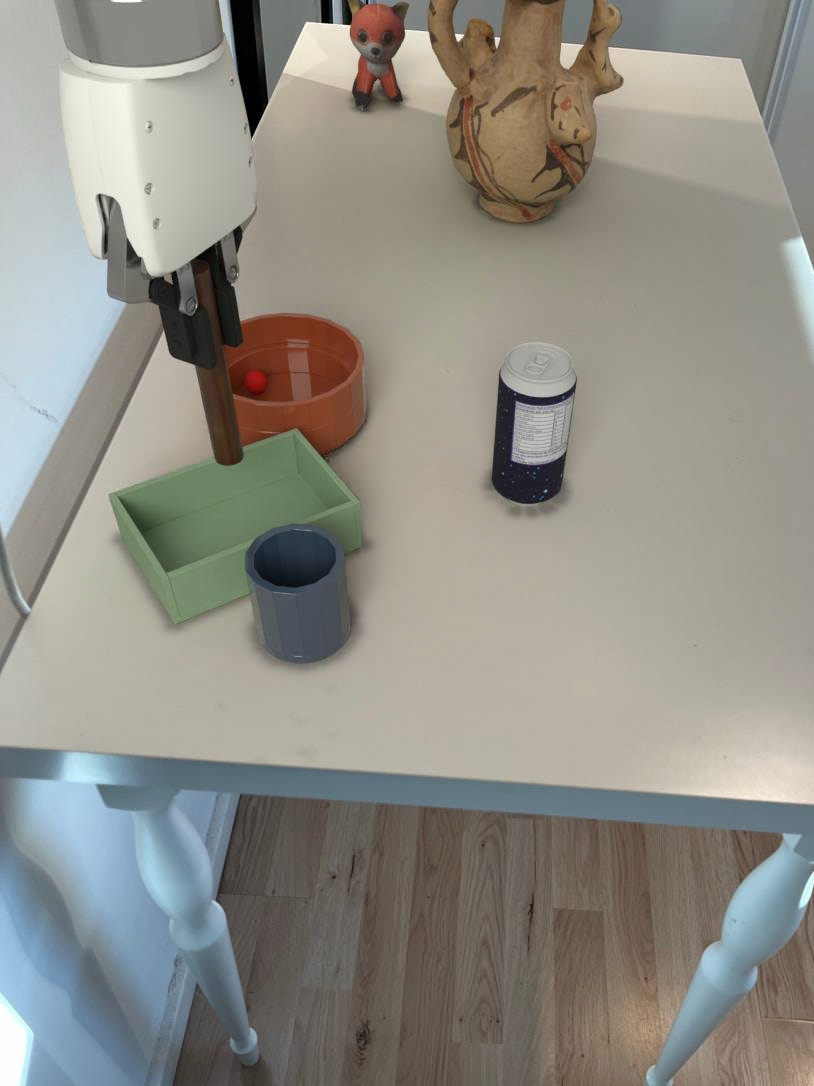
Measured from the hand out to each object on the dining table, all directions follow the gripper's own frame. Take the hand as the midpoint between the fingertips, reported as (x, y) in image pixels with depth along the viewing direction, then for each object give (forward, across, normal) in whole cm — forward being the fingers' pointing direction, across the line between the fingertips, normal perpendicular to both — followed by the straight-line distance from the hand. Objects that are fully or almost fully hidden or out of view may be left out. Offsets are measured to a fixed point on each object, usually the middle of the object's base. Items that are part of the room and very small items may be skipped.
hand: (206, 348), depth 61 cm
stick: (+9, 0, 0) cm, 9 cm away
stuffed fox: (+17, -78, -33) cm, 86 cm away
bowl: (+17, -14, -6) cm, 23 cm away
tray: (+17, 0, 0) cm, 17 cm away
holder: (+17, +5, +9) cm, 19 cm away
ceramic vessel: (+17, -60, -4) cm, 62 cm away
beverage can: (+17, -16, +16) cm, 28 cm away
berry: (+15, -15, -9) cm, 23 cm away
